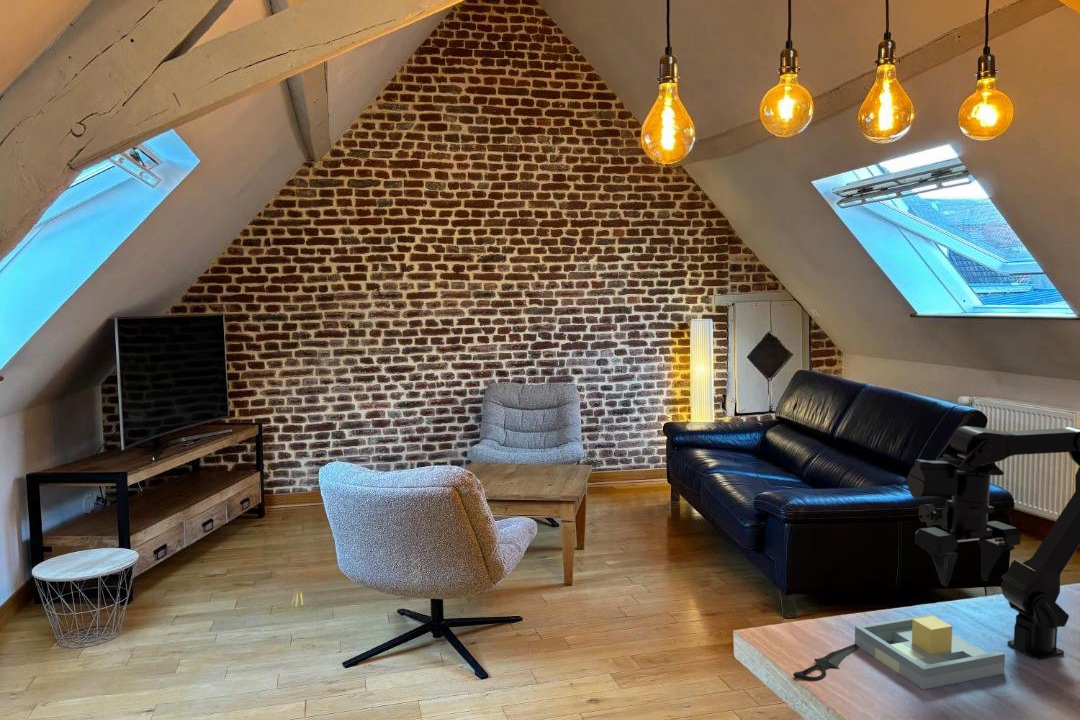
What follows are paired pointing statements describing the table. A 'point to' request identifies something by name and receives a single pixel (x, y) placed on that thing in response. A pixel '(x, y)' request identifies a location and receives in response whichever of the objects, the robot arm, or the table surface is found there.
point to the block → (931, 634)
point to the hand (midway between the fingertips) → (964, 582)
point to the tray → (926, 655)
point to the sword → (827, 663)
